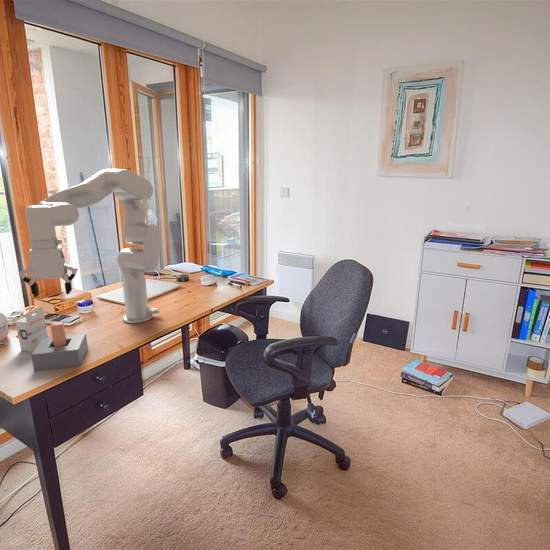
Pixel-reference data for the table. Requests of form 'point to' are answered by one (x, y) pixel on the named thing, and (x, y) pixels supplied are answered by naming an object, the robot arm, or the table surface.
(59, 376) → the table surface
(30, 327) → the ink box
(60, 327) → the peg
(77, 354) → the socket block
